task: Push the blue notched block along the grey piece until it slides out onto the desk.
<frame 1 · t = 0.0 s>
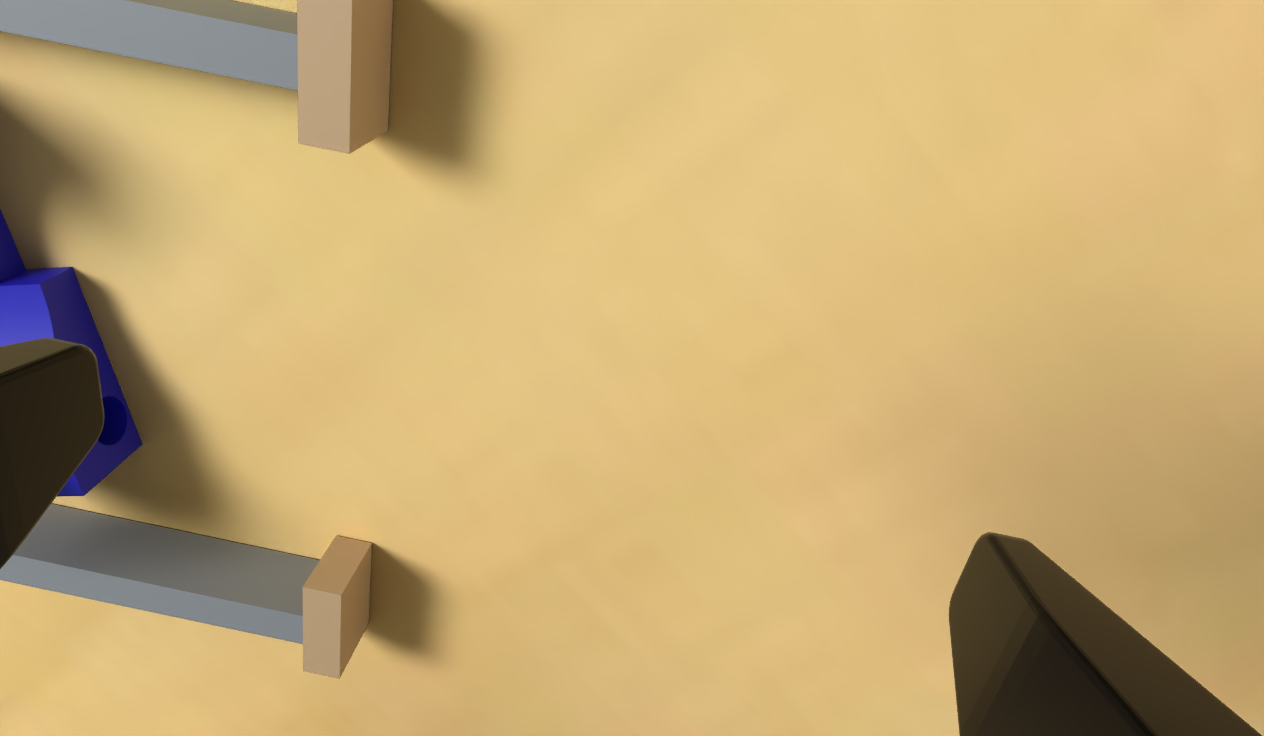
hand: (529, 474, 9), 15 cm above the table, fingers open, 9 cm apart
grey piece: (73, 299, 26), on the table
blue notched block: (11, 266, 26), on the table
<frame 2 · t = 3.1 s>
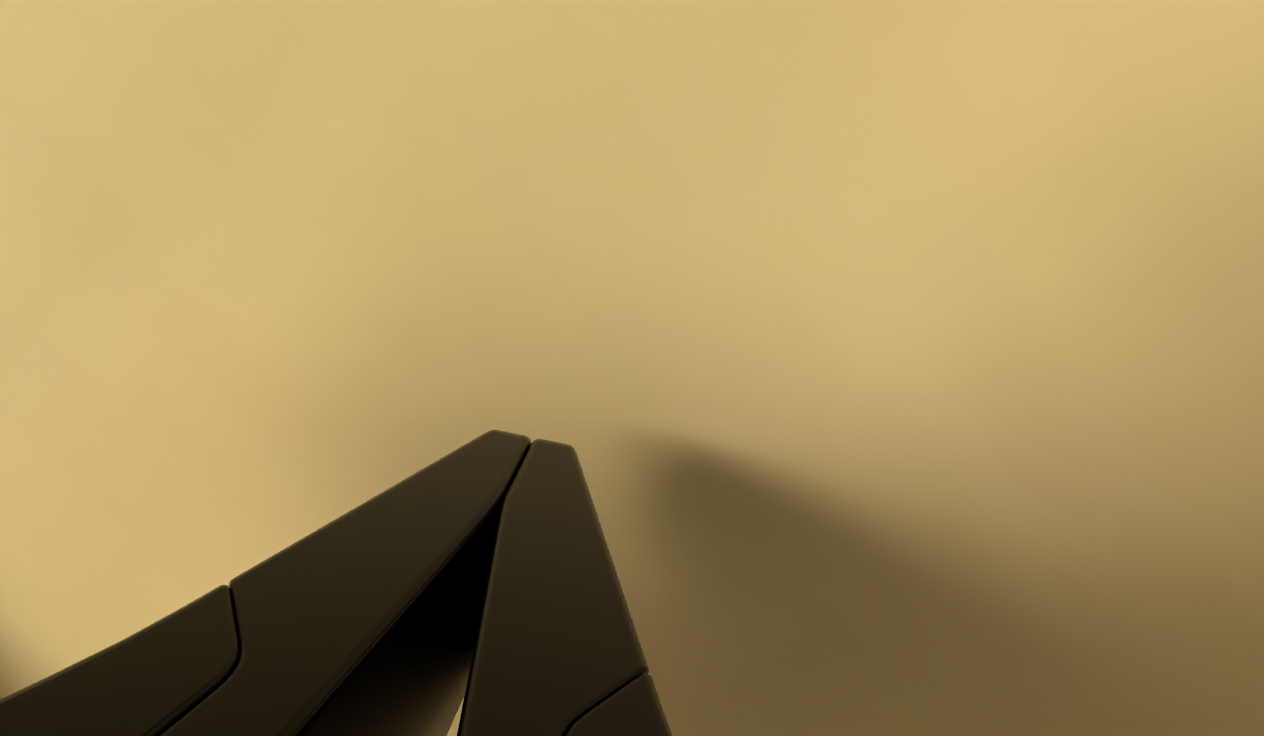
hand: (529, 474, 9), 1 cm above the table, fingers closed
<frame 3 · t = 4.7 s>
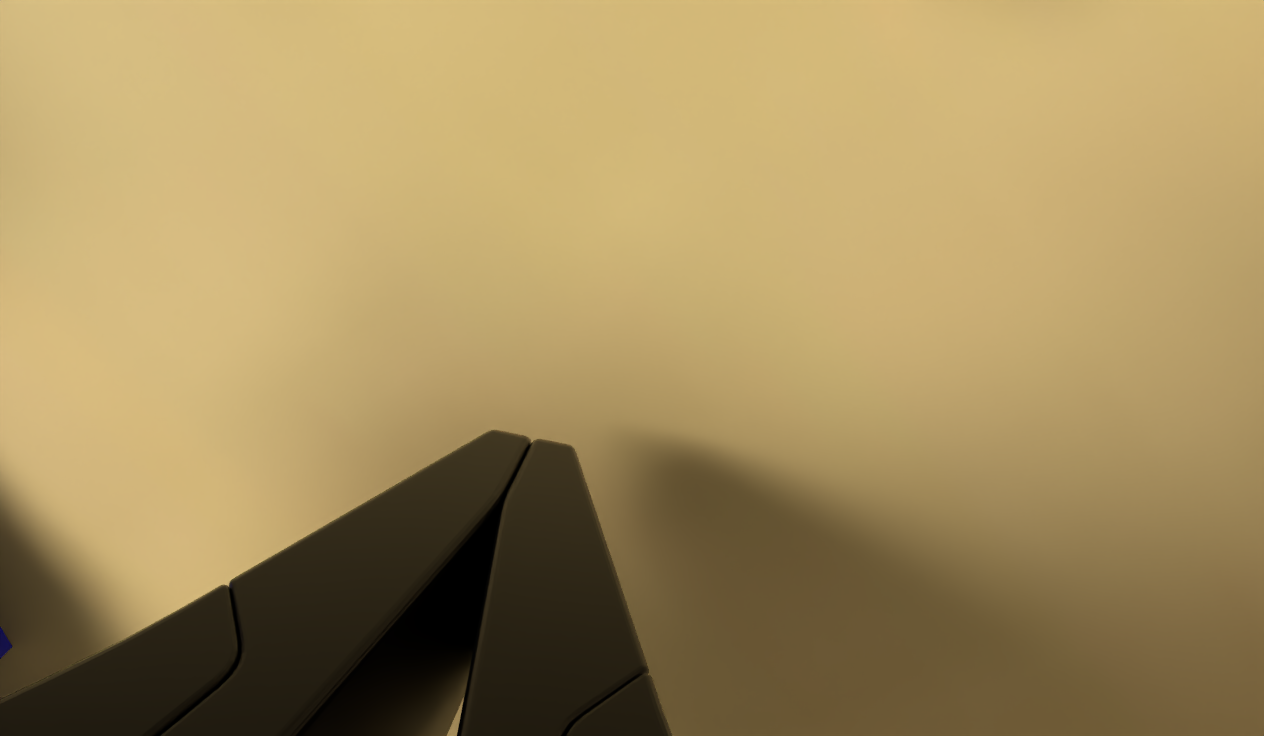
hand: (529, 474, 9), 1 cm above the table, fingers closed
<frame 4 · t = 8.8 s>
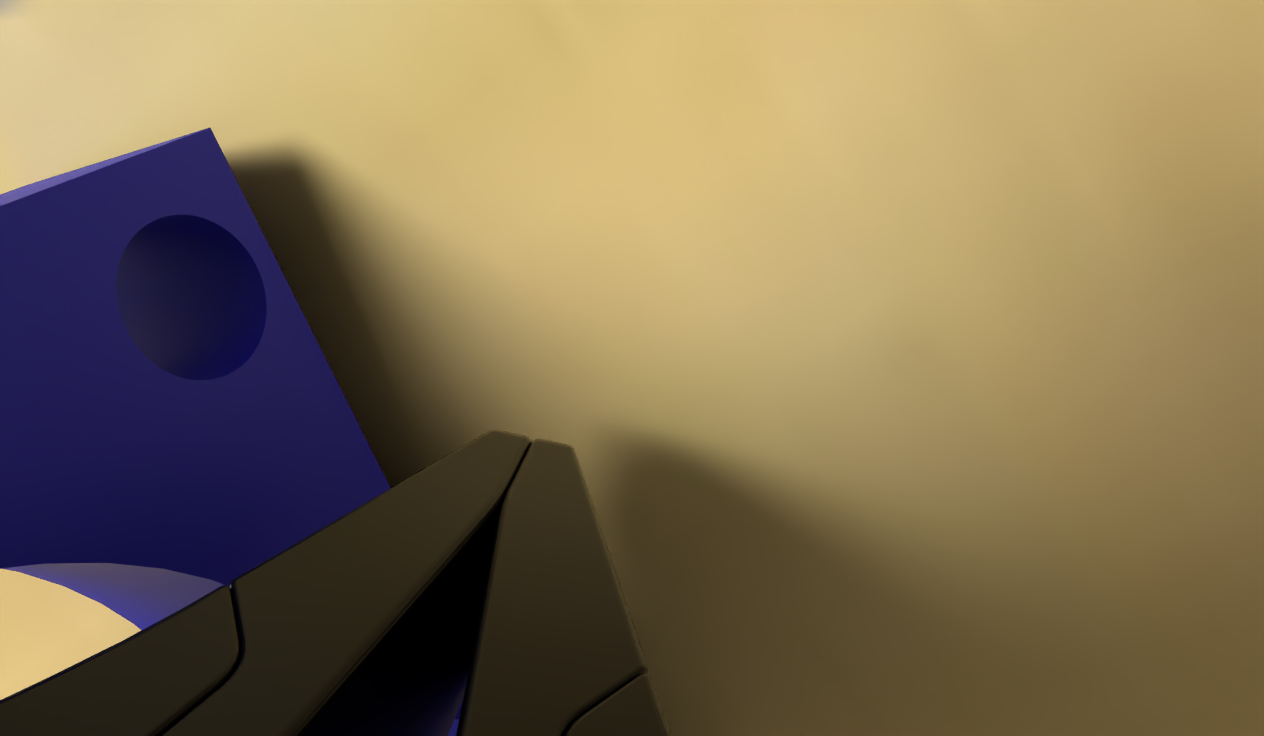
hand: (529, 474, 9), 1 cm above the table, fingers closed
blue notched block: (413, 596, 11), on the table
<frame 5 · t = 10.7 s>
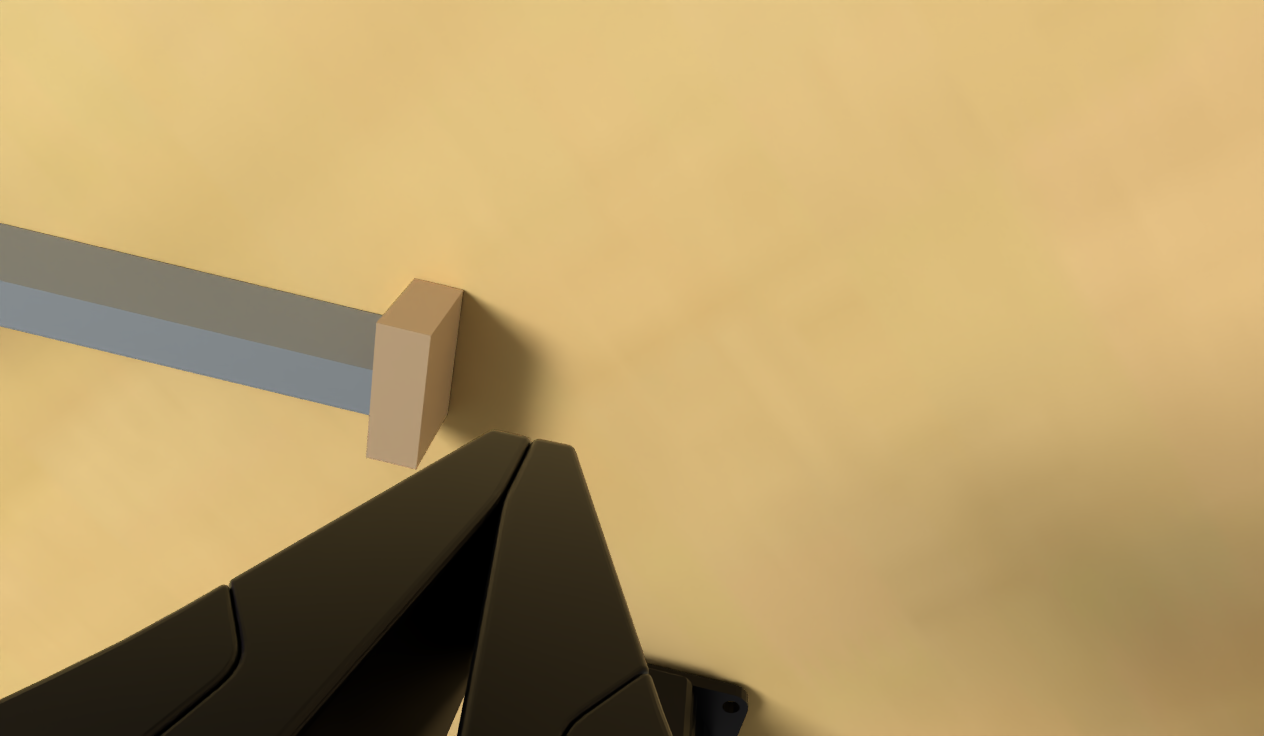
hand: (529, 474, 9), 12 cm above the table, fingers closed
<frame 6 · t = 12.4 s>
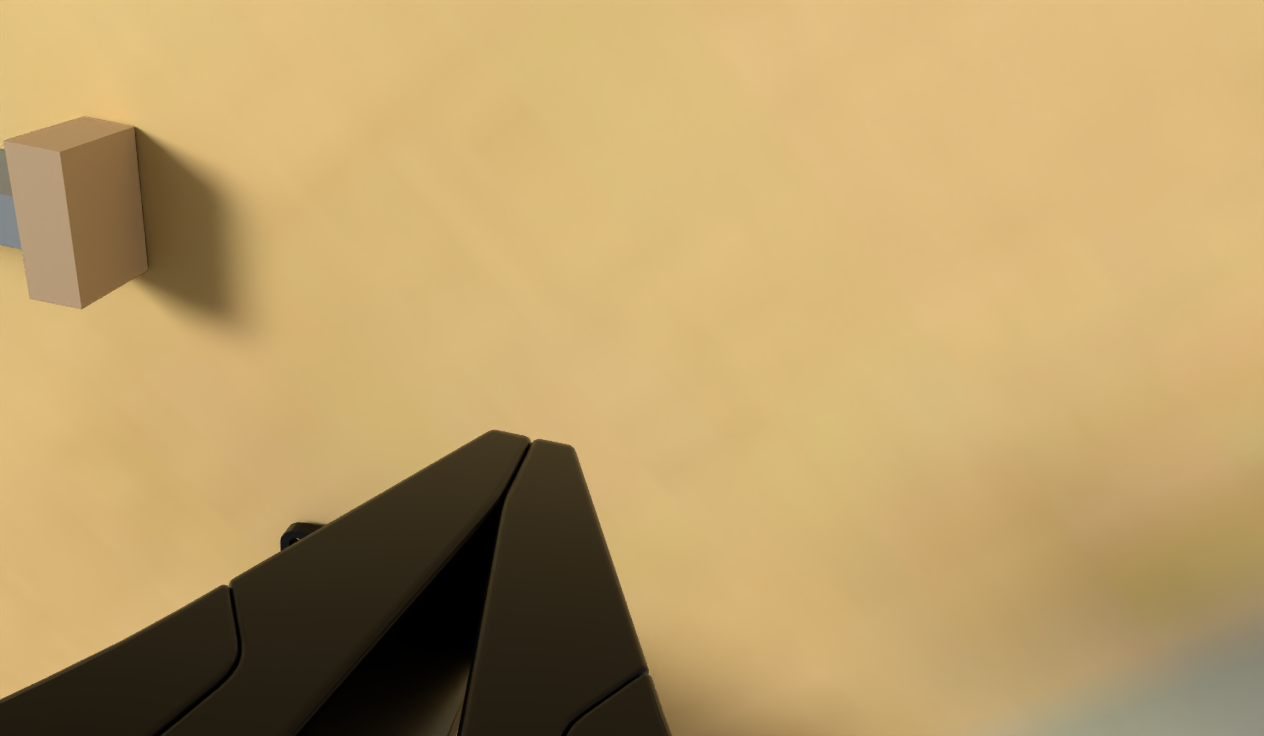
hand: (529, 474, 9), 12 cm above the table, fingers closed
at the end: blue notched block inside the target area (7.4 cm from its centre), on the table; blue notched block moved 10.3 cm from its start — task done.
